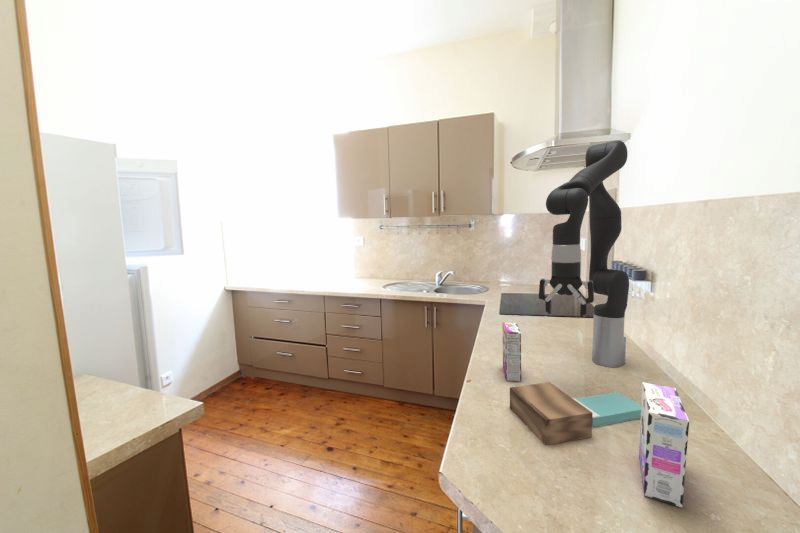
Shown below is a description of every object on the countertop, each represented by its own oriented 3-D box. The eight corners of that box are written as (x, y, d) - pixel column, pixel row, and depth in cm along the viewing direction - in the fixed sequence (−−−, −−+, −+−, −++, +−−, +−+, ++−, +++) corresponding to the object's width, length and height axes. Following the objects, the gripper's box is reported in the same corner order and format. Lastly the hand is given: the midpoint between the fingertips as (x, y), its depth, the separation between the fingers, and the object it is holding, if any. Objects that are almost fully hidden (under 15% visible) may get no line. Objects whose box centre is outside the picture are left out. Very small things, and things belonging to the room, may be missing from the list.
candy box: (684, 510, 58) (690, 421, 56) (642, 496, 62) (647, 411, 60) (672, 461, 70) (677, 386, 68) (637, 452, 73) (641, 380, 71)
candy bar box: (501, 367, 119) (501, 321, 117) (516, 367, 118) (517, 322, 116) (505, 381, 108) (505, 331, 106) (521, 382, 107) (521, 332, 105)
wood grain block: (549, 402, 95) (549, 382, 94) (591, 436, 79) (592, 412, 78) (509, 408, 92) (509, 387, 92) (545, 444, 77) (545, 420, 76)
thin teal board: (616, 401, 95) (617, 390, 94) (646, 418, 86) (646, 407, 86) (567, 409, 91) (567, 398, 91) (592, 428, 83) (593, 417, 82)
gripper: (595, 258, 96) (594, 314, 98) (541, 258, 104) (541, 309, 106) (593, 262, 90) (592, 321, 92) (537, 261, 97) (536, 315, 99)
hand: (565, 314), depth 99 cm, fingers open, 8 cm apart
